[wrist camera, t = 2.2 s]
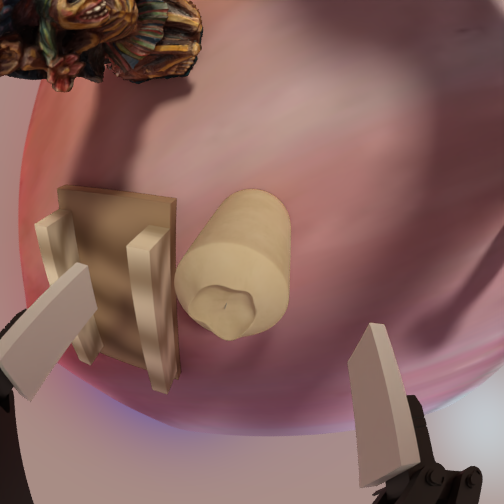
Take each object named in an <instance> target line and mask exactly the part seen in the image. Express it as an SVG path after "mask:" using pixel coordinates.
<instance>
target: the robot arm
mask: <svg viewBox="0 0 504 504" xmlns="http://www.w3.org/2000/svg"><path fill="white" fill-rule="evenodd" d="M97 309H98V308H97V304H96V300H95V296H94V292H93V288H92V283H91V278H90V273H89V268H88V265H85V264H81V263H78V262H76V263H75V264H74V265H73V266H72V267H71V268H70V269H69V270H68V271H66V272H65V273H64V274H63V275H62V276H61V277H60V278H59V279H58V280H57V281H56V282H55V283H54V284H52V285H51V286H50V287H49V288H48V289H47V290H46V291H45V292H44V293H43V294H42V295H41V296H40V297H39V298H38V299H37V300H36V301H35V302H34V303H33V304H32V305H31V306H30V307H29V308H28V309H25V310H23V311H21V312H19V313H18V314H16V316H15V317H14V318H13V319H12V320H11V321H10V323H8V324H7V325H6V326H5V329H3V330H2V331H1V332H0V504H34V503H33V500H32V497H31V494H30V490H29V487H28V483H27V480H26V476H25V471H24V467H23V463H22V458H21V453H20V447H19V441H18V434H17V428H16V427H17V426H16V418H15V406H14V394H13V391H12V388H13V387H15V388H16V390H17V391H18V392H19V394H20V395H22V396H23V397H24V398H26V399H27V400H29V401H30V402H31V401H32V399H33V398H34V396H35V395H36V393H37V391H38V390H39V388H40V387H41V385H42V384H43V382H44V381H45V379H46V378H47V376H48V375H49V373H50V372H51V371H52V369H53V368H54V366H55V365H56V363H57V362H58V361H59V359H60V358H61V356H62V355H63V354H64V352H65V351H66V349H67V348H68V347H69V345H70V344H71V343H72V341H73V340H74V339H75V337H76V336H77V335H78V333H79V332H80V331H81V329H82V328H83V327H84V326H85V324H86V323H87V322H88V320H89V319H90V318H91V317H92V315H93V314H94V313H95V312H96V310H97ZM347 365H348V371H349V378H350V385H351V393H352V400H353V409H354V418H355V427H356V438H357V449H358V463H359V485H360V488H363V487H372V486H378V485H379V484H382V483H384V482H386V487H384V488H382V489H380V490H378V491H376V492H375V493H374V494H372V495H373V496H375V495H378V494H379V495H378V497H377V498H376V499H375V501H374V502H373V503H372V504H478V502H479V497H480V492H481V486H482V473H481V471H480V469H479V468H477V467H475V466H470V467H468V468H467V469H465V470H463V471H450V470H445V468H444V467H443V466H442V465H441V464H439V463H436V462H435V460H434V456H433V452H432V447H431V442H430V437H429V433H428V429H427V427H426V421H425V418H424V413H423V409H422V405H421V404H420V402H419V401H418V399H417V398H416V396H415V395H406V393H405V389H404V386H403V382H402V378H401V375H400V371H399V368H398V365H397V362H396V358H395V355H394V352H393V349H392V346H391V343H390V340H389V337H388V334H387V331H386V328H385V325H384V324H377V323H369V324H368V326H367V328H366V330H365V332H364V334H363V336H362V337H361V339H360V341H359V343H358V345H357V346H356V348H355V350H354V352H353V353H352V355H351V357H350V358H349V360H348V362H347Z"/></svg>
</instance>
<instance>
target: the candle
mask: <svg viewBox="0 0 504 504" xmlns="http://www.w3.org/2000/svg"><path fill="white" fill-rule="evenodd" d="M290 249H291V224H290V218H289V215H288V212H287V210H286V208H285V206H284V205H283V204H282V202H281V201H280V200H279V199H277V198H276V197H275V196H273V195H272V194H270V193H268V192H266V191H262V190H258V189H245V190H241V191H238V192H236V193H234V194H232V195H230V196H229V197H228V198H226V199H225V200H224V201H223V203H222V204H221V205H220V206H219V208H218V209H217V210H216V212H215V213H214V214H213V216H212V217H211V219H210V220H209V221H208V223H207V224H206V225H205V227H204V228H203V230H202V231H201V232H200V234H199V235H198V237H197V238H196V239H195V241H194V242H193V244H192V245H191V247H190V248H189V249H188V251H187V252H186V254H185V255H184V257H183V258H182V260H181V261H180V263H179V264H178V266H177V269H176V272H175V277H174V287H175V292H176V295H177V298H178V300H179V302H180V304H181V305H182V307H183V309H184V310H185V311H186V312H187V314H188V315H189V316H190V317H191V318H192V319H193V320H194V321H196V322H197V323H198V324H199V325H201V326H202V327H204V328H205V329H207V330H209V331H211V332H213V333H214V334H215V335H217V336H218V337H220V338H221V339H224V340H227V341H232V340H235V339H238V338H241V337H245V336H250V335H255V334H258V333H261V332H263V331H266V330H268V329H269V328H271V327H273V326H274V325H275V324H276V323H277V322H278V321H279V320H280V319H281V318H282V316H283V315H284V313H285V311H286V309H287V306H288V302H289V285H290Z"/></svg>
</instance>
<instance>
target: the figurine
mask: <svg viewBox="0 0 504 504" xmlns="http://www.w3.org/2000/svg"><path fill="white" fill-rule="evenodd" d="M198 10H199V9H197V8H196V5H194V4H193V3H192V2H191V1H190V0H188V1H186V0H0V77H1V76H4V75H7V76H9V77H14V78H20V79H30V80H39V79H47V81H48V82H49V83H52V88H53V89H54V90H55V91H57V92H69V91H70V90H71V89H72V87H73V82H74V79H75V78H76V77H83V78H85V79H88V80H90V81H93V82H95V83H96V82H97V83H100V82H103V77H104V76H103V74H104V73H103V72H105V66H104V64H109V63H112V65H111V67H109V68H108V65H107V68H108V69H110V70H111V69H113V70H114V71H116V73H114V72H113V73H114V74H116V75H117V77H122V78H123V80H129V81H130V82H133V83H136V84H140V83H142V82H145V81H149V80H151V79H157V78H165V79H169V78H172V77H173V78H174V77H178V76H180V77H184V76H188V75H189V73H190V70H191V68H192V66H193V65H194V64H195V63H196V61H197V59H198V58H197V55H198V53H199V52H200V50H201V49H202V46H201V45H200V44H201V37H202V35H203V34H202V33H203V27H202V20H201V16H200V13H199V11H198Z"/></svg>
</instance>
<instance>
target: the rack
mask: <svg viewBox="0 0 504 504" xmlns="http://www.w3.org/2000/svg"><path fill="white" fill-rule="evenodd" d="M57 193H58V202H59V209H58V210H57V211H55V212H53V213H52V214H50V215H49V216H47V217H45V218H44V219H42V220H41V221H39V222H37V223H36V224H35V229H36V234H37V239H38V243H39V248H40V252H41V256H42V260H43V263H44V267H45V271H46V274H47V277H48V281H49V284H50V286H51V285H52V284H54V283H55V282H56V281H57V280H58V279H59V278H60V277H61V276H62V275H63V274H64V273H65V272H66V271H68V270H69V269H70V268H71V267H72V266H73V265H74V264H75V263H76V262H78V263H81V264H85V265H88V268H89V273H90V278H91V283H92V288H93V292H94V296H95V300H96V304H97V308H98V309H97V310H96V312H95V313H94V314H93V315H92V317H91V318H90V319H89V320H88V322H87V323H86V324H85V326H84V327H83V328H82V329H81V331H80V332H79V333H78V335H77V336H76V337H75V339H74V340H73V341H72V345H73V347H74V349H75V351H76V353H77V355H78V358H79V360H80V361H82V362H85V363H87V364H89V365H92V363H93V362H94V360H95V358H96V357H97V355H98V354H99V352H100V353H102V354H105V355H107V356H110V357H112V358H115V359H117V360H120V361H122V362H125V363H128V364H131V365H133V366H136V367H139V368H142V369H145V370H147V371H148V375H149V378H150V382H151V386H152V390H155V391H158V392H161V393H165V394H168V392H169V390H170V387H171V385H172V382H173V380H174V379H177V380H178V379H179V376H180V374H181V367H180V355H179V342H178V325H177V304H176V292H175V287H174V277H175V272H176V204H177V198H170V197H163V196H156V195H149V194H141V193H134V192H126V191H118V190H110V189H101V188H92V187H83V186H74V185H64V186H62V187H59V188H57Z"/></svg>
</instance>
